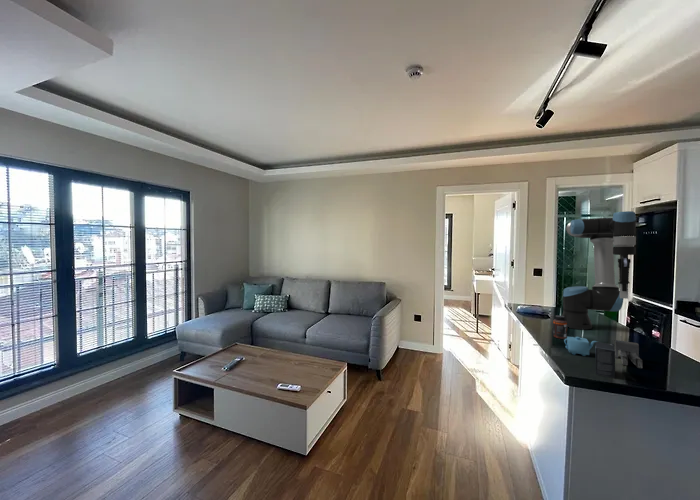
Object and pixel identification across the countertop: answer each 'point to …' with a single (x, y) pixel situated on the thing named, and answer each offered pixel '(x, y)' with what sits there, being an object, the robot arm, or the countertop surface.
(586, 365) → the countertop surface
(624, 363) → the tongs fixed
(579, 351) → the blue teapot
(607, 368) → the box
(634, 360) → the tongs jaw
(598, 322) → the countertop surface
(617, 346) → the collar
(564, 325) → the supplement bottle
